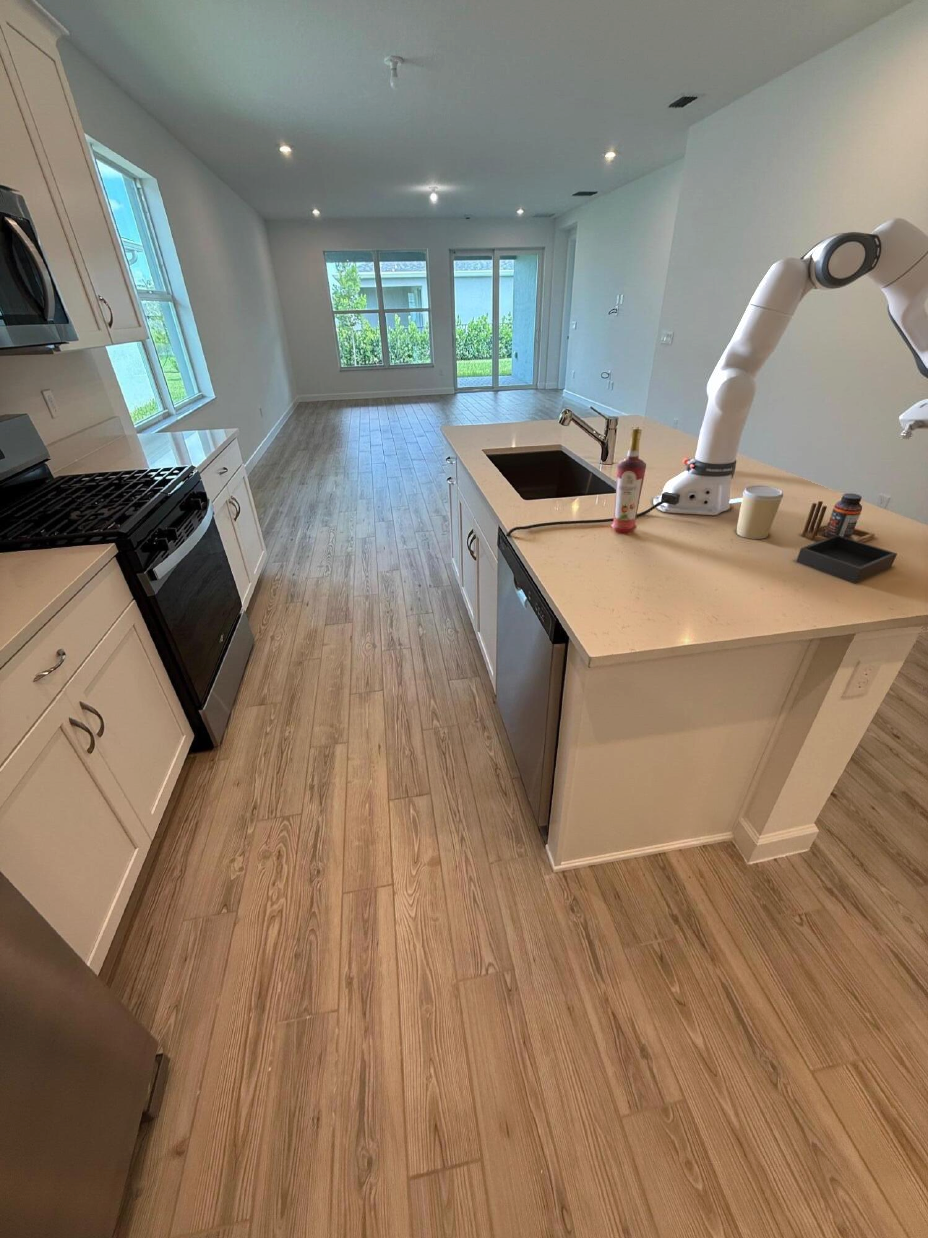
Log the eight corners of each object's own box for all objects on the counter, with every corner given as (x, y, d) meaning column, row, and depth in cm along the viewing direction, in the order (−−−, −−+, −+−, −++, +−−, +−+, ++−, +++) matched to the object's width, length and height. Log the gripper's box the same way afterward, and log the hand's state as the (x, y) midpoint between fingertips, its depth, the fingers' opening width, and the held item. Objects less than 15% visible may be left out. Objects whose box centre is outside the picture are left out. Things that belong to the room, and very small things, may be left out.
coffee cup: (768, 528, 141) (780, 486, 135) (773, 541, 134) (787, 497, 127) (731, 525, 144) (741, 484, 137) (734, 538, 136) (746, 495, 130)
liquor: (638, 527, 146) (653, 425, 131) (634, 536, 140) (649, 431, 125) (612, 524, 149) (624, 424, 134) (607, 533, 143) (619, 430, 128)
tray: (855, 583, 113) (861, 569, 111) (796, 561, 123) (800, 548, 121) (891, 567, 119) (897, 553, 117) (831, 547, 129) (836, 534, 127)
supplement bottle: (818, 533, 137) (832, 492, 131) (839, 531, 137) (854, 490, 131) (834, 542, 132) (849, 500, 126) (856, 540, 132) (872, 498, 126)
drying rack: (843, 549, 128) (857, 515, 123) (800, 535, 136) (811, 503, 131) (873, 538, 133) (887, 505, 128) (830, 525, 141) (841, 493, 136)
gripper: (921, 388, 131) (878, 427, 133) (1015, 383, 112) (963, 427, 114) (929, 408, 134) (886, 445, 135) (1021, 406, 115) (970, 449, 116)
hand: (922, 437), depth 124 cm, fingers open, 8 cm apart
